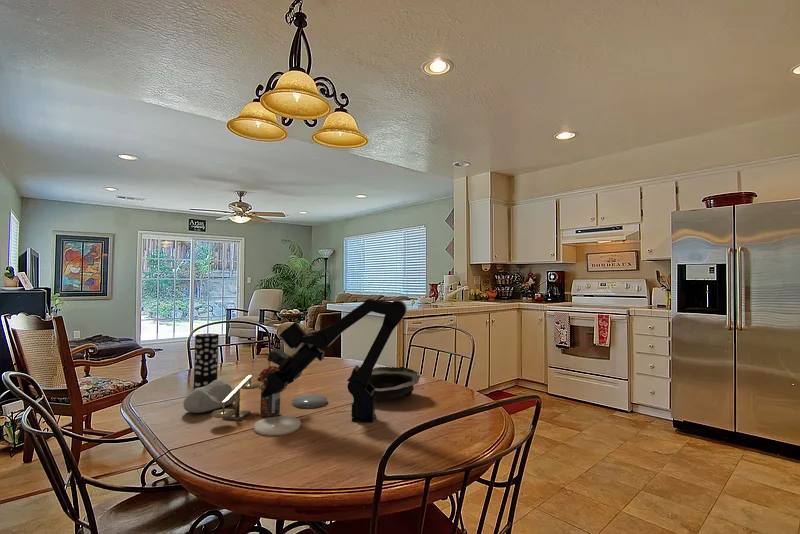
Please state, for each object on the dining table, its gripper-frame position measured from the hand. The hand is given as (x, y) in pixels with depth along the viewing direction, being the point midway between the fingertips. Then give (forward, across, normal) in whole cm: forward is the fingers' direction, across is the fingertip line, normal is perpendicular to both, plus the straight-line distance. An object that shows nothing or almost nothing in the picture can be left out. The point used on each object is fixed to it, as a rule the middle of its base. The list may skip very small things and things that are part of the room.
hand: (266, 393), depth 132 cm
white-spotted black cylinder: (+30, -29, -20) cm, 46 cm away
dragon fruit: (+13, -33, -3) cm, 36 cm away
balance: (+10, +3, -1) cm, 11 cm away
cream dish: (-1, +10, +10) cm, 15 cm away
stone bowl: (-21, -25, +30) cm, 44 cm away
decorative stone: (+19, -2, -9) cm, 21 cm away
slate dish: (-3, -13, +12) cm, 18 cm away
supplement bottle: (+4, 0, +6) cm, 7 cm away
